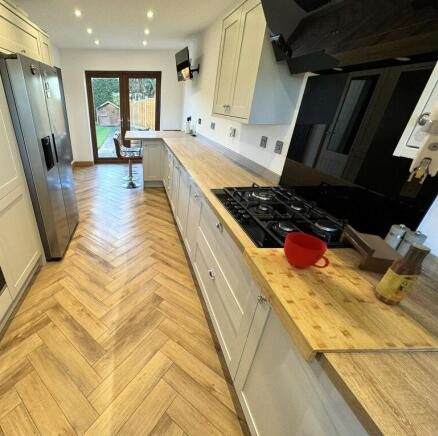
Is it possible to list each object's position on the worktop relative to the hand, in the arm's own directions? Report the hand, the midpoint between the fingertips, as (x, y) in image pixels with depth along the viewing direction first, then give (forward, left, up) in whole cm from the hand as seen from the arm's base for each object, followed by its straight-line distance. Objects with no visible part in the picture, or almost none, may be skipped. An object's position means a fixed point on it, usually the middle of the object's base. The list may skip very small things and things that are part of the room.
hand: (408, 192), depth 67 cm
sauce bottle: (-5, +6, -34) cm, 35 cm away
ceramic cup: (+17, -4, -34) cm, 38 cm away
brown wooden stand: (-11, -19, -33) cm, 40 cm away
